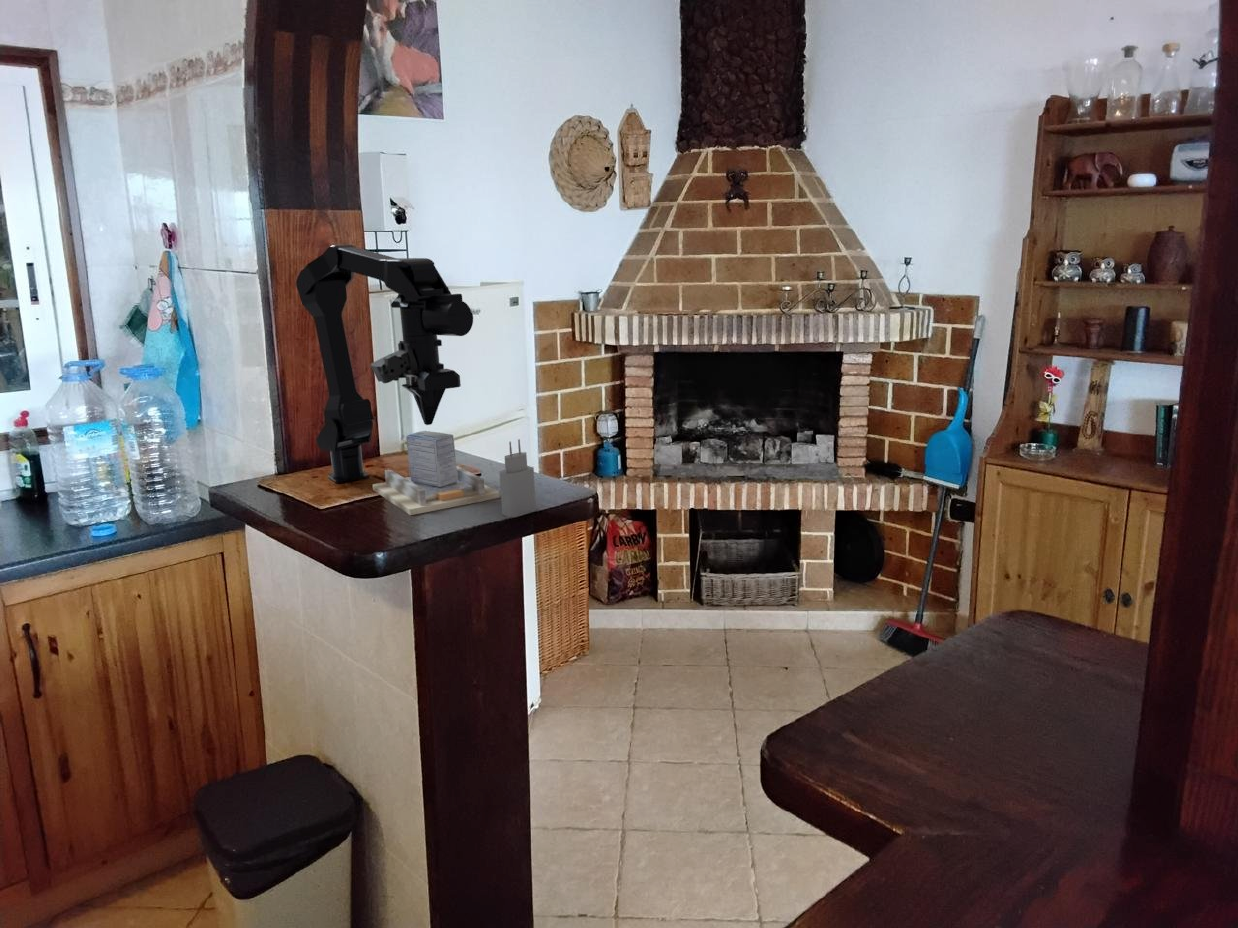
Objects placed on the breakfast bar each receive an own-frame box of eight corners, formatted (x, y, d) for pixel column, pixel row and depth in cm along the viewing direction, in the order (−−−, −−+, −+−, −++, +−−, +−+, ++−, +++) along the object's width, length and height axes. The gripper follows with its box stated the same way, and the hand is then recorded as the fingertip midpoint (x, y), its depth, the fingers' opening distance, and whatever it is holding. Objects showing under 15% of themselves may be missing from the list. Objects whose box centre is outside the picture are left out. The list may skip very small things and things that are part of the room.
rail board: (373, 489, 168) (370, 471, 167) (455, 475, 176) (454, 457, 175) (410, 515, 151) (408, 494, 151) (499, 497, 159) (498, 478, 159)
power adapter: (538, 509, 151) (533, 438, 149) (512, 517, 148) (507, 444, 145) (525, 506, 154) (521, 436, 151) (500, 514, 150) (495, 442, 147)
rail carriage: (396, 484, 167) (396, 479, 167) (443, 476, 172) (443, 470, 171) (427, 503, 154) (426, 497, 154) (477, 494, 159) (476, 488, 158)
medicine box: (458, 482, 163) (454, 434, 161) (439, 488, 159) (435, 439, 157) (429, 476, 168) (424, 429, 165) (409, 482, 164) (405, 434, 162)
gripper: (356, 335, 161) (366, 423, 164) (391, 343, 145) (401, 440, 149) (418, 329, 166) (426, 414, 170) (457, 336, 151) (465, 430, 154)
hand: (428, 424), depth 161 cm, fingers closed
